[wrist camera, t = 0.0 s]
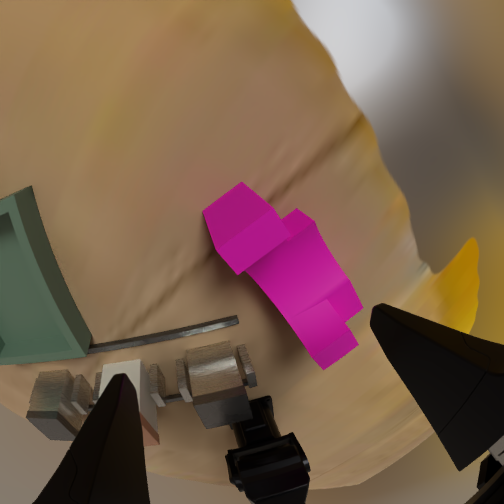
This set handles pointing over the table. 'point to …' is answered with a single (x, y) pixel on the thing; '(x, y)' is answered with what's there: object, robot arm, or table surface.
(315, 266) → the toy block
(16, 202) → the tray
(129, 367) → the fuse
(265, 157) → the table surface
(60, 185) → the table surface
